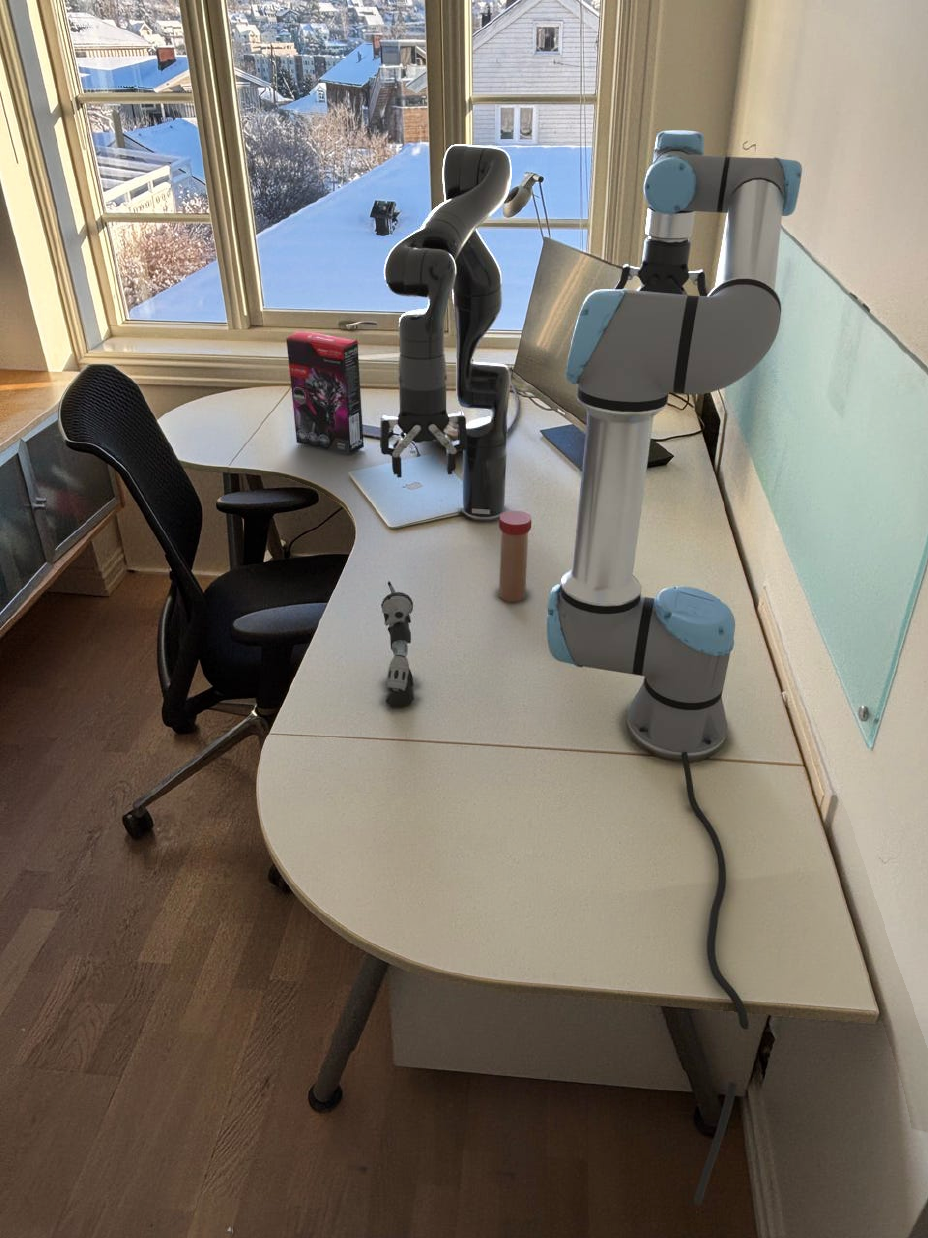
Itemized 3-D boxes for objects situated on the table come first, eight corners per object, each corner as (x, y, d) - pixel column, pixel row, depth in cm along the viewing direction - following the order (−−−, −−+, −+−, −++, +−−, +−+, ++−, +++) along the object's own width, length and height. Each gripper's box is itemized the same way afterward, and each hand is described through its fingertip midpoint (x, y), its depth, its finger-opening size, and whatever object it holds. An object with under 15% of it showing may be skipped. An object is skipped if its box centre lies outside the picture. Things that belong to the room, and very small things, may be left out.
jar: (526, 601, 174) (531, 525, 165) (500, 602, 173) (503, 526, 164) (522, 587, 178) (526, 512, 169) (497, 588, 177) (500, 513, 168)
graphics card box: (294, 443, 234) (283, 336, 218) (310, 434, 239) (300, 328, 224) (350, 457, 227) (343, 347, 212) (366, 447, 232) (360, 339, 217)
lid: (533, 534, 165) (534, 524, 164) (501, 536, 165) (501, 525, 164) (528, 519, 170) (529, 509, 169) (497, 520, 170) (497, 510, 168)
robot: (415, 731, 142) (412, 624, 131) (384, 732, 142) (378, 624, 131) (414, 656, 158) (412, 555, 147) (386, 656, 158) (381, 555, 147)
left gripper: (463, 370, 150) (462, 462, 159) (375, 374, 148) (380, 467, 157) (470, 386, 144) (469, 481, 153) (379, 390, 142) (383, 486, 151)
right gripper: (746, 237, 151) (725, 364, 163) (595, 227, 157) (585, 351, 169) (746, 247, 145) (723, 378, 157) (589, 236, 151) (579, 364, 163)
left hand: (424, 474), depth 155 cm, fingers open, 8 cm apart
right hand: (652, 364), depth 163 cm, fingers open, 13 cm apart
